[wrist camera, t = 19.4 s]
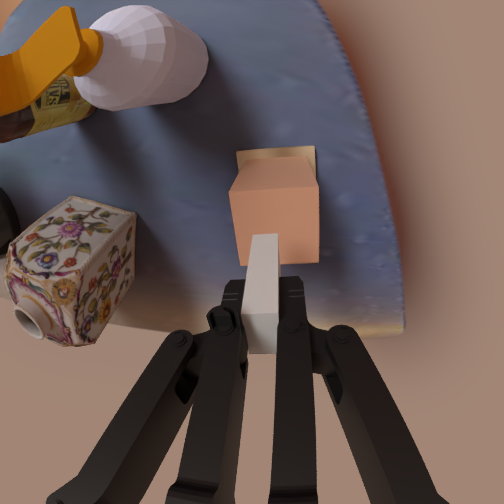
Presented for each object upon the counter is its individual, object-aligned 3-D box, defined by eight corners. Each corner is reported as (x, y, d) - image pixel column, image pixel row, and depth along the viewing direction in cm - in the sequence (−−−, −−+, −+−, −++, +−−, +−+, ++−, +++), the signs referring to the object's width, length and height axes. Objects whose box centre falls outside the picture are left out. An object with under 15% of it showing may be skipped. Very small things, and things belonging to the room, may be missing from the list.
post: (246, 219, 31) (237, 252, 25) (236, 150, 27) (223, 168, 21) (316, 215, 30) (324, 249, 24) (313, 145, 26) (324, 161, 20)
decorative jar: (76, 258, 38) (12, 335, 23) (71, 192, 31) (-20, 264, 16) (137, 280, 38) (81, 376, 23) (140, 212, 32) (54, 308, 17)
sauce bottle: (111, 92, 24) (-37, 127, 7) (84, 129, 27) (-47, 190, 10) (84, 62, 22) (-55, 82, 5) (59, 100, 24) (-67, 143, 7)
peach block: (252, 214, 30) (240, 265, 22) (245, 160, 27) (228, 192, 19) (308, 211, 29) (318, 262, 21) (306, 156, 26) (318, 186, 18)
